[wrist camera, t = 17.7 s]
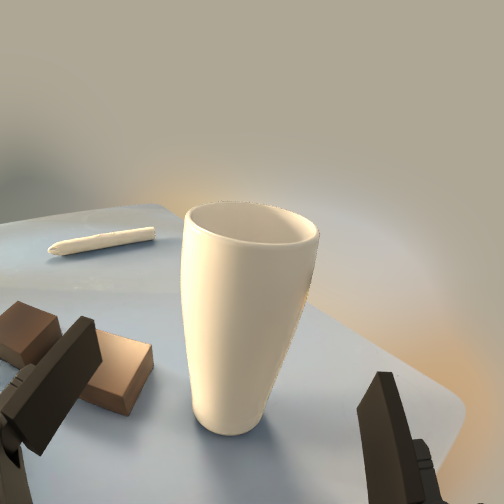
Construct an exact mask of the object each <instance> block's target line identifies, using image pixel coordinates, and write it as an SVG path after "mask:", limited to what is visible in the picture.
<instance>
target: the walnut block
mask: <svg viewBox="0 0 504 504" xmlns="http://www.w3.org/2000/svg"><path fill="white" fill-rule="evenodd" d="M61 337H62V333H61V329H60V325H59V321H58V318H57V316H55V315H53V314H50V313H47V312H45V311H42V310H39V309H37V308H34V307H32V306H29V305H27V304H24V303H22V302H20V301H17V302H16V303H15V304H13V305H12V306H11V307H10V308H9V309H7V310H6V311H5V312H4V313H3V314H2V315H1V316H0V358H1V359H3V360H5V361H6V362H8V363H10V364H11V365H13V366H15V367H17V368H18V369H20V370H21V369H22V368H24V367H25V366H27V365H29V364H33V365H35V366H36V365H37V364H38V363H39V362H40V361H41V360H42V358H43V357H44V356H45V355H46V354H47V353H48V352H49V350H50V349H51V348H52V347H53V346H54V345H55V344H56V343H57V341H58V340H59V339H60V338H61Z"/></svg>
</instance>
